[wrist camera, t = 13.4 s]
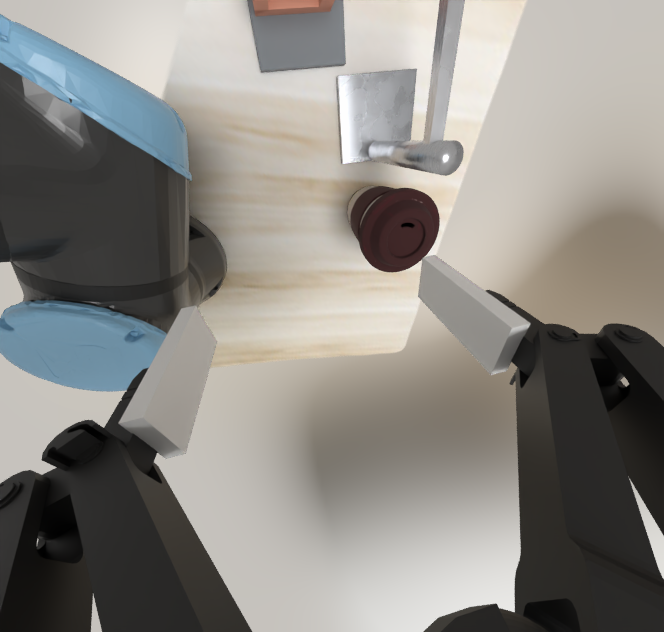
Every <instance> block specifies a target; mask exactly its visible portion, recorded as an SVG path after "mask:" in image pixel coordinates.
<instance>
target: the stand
mask: <svg viewBox="0 0 664 632" xmlns="http://www.w3.org/2000/svg"><path fill="white" fill-rule="evenodd" d="M464 2H465V0H440V3H439V12H438V20H437V29H436V37H435V46H434V55H433V63H432V72H431V81H430V89H429V98H428V107H427V115H426V124H425V132H424V141H410V139H411V128H412V117H413V106H414V94H415V83H416V72H417V69H408V70H397V71H385V72H374V73H363V74H352V75H341V76H338V77H337V92H338V110H339V128H340V146H341V163H342V164H346V163H354V162H362V161H370V160H373V161H376V162H381V163H386V164H390V165H395V166H400V167H405V168H410V169H415V170H420V171H425V172H430V173H435V174H440V175H450V174H452V173H453V172H454V171H456V170H457V168H458V167H459V166H460V164H461V162H462V159H463V147H462V145H461V143H459V142H458V141H443V137H444V130H445V124H446V117H447V111H448V105H449V98H450V92H451V85H452V79H453V73H454V66H455V60H456V53H457V47H458V40H459V34H460V28H461V21H462V15H463V8H464Z"/></svg>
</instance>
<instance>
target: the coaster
mask: <svg viewBox="0 0 664 632" xmlns="http://www.w3.org/2000/svg"><path fill="white" fill-rule="evenodd" d="M247 1H248V6H249V11H250V16H251V22H252V27H253V32H254V37H255V42H256V48H257V53H258V58H259V63H260V68H261V72H272V71H284V70H295V69H307V68H318V67H330V66H342V65H345V64H346V61H345V36H344V10H343V0H335V1H334V3H333V6H332V8H331V11H330V12H316V13H300V14H285V15H269V16H255V11H254V6H253V0H247Z"/></svg>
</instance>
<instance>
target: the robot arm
mask: <svg viewBox="0 0 664 632" xmlns="http://www.w3.org/2000/svg"><path fill="white" fill-rule="evenodd" d="M189 180H190V181H192V175H191V173H190V172H189V162H188V139H187V132H186V129H185V126H184V124H183V122H182V120H181V118H180V117H179V116H178V114H177V113H176V112H175V111H174V110H173V108H172V107H170V106H169V105H168V104H167V103H165V102H164V101H163V100H161V99H159V98H158V97H156V96H154V95H153V94H151V93H149V92H148V91H146V90H144V89H143V88H141V87H139V86H137V85H135V84H134V83H132V82H130V81H129V80H127V79H125V78H123V77H121V76H119V75H118V74H116V73H114V72H112V71H110V70H108V69H107V68H105V67H103V66H101V65H99V64H97V63H95V62H93V61H91V60H90V59H88V58H86V57H84V56H82V55H80V54H78V53H76V52H74V51H73V50H71V49H69V48H67V47H65V46H63V45H61V44H59V43H57V42H55V41H53V40H51V39H49V38H48V37H46V36H44V35H42V34H40V33H38V32H36V31H34V30H32V29H29V28H27V27H26V26H24V25H21V24H19V23H16V22H13V21H11V20H9V19H7V18H6V17H4V16H3V15H1V14H0V262H11V264H12V266H13V269H14V271H15V273H16V275H17V278H18V281H19V283H20V285H21V288H22V290H23V293H24V300H23V302H21V303H19V304H16V305H13V306H11V307H9V308H7V309H5V310H4V312H3V314H2V315H1V318H0V353H1V354H2V355H3V356H4V357H5V358H6V359H7V360H9V361H10V362H11V363H12V364H14V365H15V366H17V367H19V368H20V369H22V370H24V371H26V372H28V373H30V374H32V375H34V376H37V377H39V378H42V379H44V380H48V381H51V382H54V383H56V384H60V385H64V386H67V387H72V388H77V389H83V390H92V391H125V390H127V392H125V394H124V395H123V397H122V401H120V402H119V404H118V405H117V407H116V409H115V411H114V412H113V414H112V415H111V417H110V419H109V421H108V423H107V424H106V426H105V427H104V428H103V427H101V426H100V425H98V424H97V423H95V422H94V421H93V420H85V421H81V422H78V423H76V424H74V425H72V426H70V427H68V428H67V429H65V430H64V431H63V432H61V433H60V434H59V435H57V436H56V437H55V438H54V439H53V440H52V441H51V442H50V443H49V444H48V446H47V448H46V449H45V451H44V452H43V455H42V461H45V462H47V463H49V464H51V465H53V466H55V467H57V468H55V469H53V470H51V471H49V472H47V473H45V474H43V475H41V474H38V473H36V472H34V471H31V470H28V471H22V472H20V473H18V474H15V475H13V476H11V477H10V478H8V479H7V480H5V481H4V482H2V483H1V484H0V632H91V617H92V600H93V599H92V598H93V594H94V598H95V603H96V607H97V611H98V616H99V619H100V624H101V628H102V632H252V631H251V629H250V627H249V626H248V623H247V622H246V620H245V618H244V616H243V615H242V613H241V611H240V609H239V608H238V606H237V604H236V602H235V601H234V599H233V597H232V595H231V594H230V592H229V590H228V588H227V586H226V585H225V583H224V581H223V579H222V578H221V576H220V574H219V573H218V571H217V569H216V567H215V565H214V564H213V562H212V560H211V558H210V557H209V555H208V553H207V551H206V550H205V548H204V546H203V544H202V542H201V541H200V539H199V538H198V536H197V534H196V532H195V530H194V528H193V527H192V525H191V523H190V521H189V520H188V518H187V516H186V514H185V513H184V511H183V509H182V507H181V506H180V504H179V502H178V500H177V498H176V497H175V495H174V493H173V491H172V490H171V488H170V486H169V485H168V483H167V481H166V479H165V477H164V476H163V474H162V472H161V470H160V469H159V467H158V466H157V465H156V464H155V463H154V459H155V457H156V454H157V453H159V454H160V455H162V456H163V457H164V458H166V459H167V458H171V457H175V456H178V455H183V454H186V451H187V447H188V443H189V440H190V436H191V433H192V429H193V426H194V422H195V418H196V415H197V411H198V408H199V404H200V401H201V397H202V393H203V390H204V387H205V383H206V380H207V376H208V372H209V369H210V365H211V362H212V358H213V355H214V351H215V348H216V344H217V340H216V339H215V337H214V335H213V334H212V332H211V330H210V329H209V327H208V325H207V323H206V322H205V320H204V318H203V317H202V315H201V313H200V312H199V310H198V306H199V304H201V303H203V302H204V301H206V300H207V299H209V298H210V297H212V296H213V295H214V294H215V293H216V292H217V291H218V290H219V288H220V287H221V285H222V283H223V280H224V278H225V275H226V270H227V262H226V256H225V253H224V250H223V248H222V246H221V244H220V242H219V241H218V239H217V238H216V237H215V235H214V234H213V233H212V232H211V231H210V230H209V229H208V228H207V227H206V226H205V225H203V224H202V223H201V222H199V221H198V220H196V219H194V218H193V217H191V216H189ZM418 297H419V298H420V299H421V300H422V301H423V302H424V303H425V305H426V306H427V307H428V308H429V309H430V310H431V311H432V312H433V313H434V314H435V315H436V316H437V317H438V319H439V320H440V321H441V322H442V323H443V324H444V325H445V326H446V327H447V328H448V329H449V330H450V332H451V333H452V334H453V335H454V336H455V337H456V338H457V339H458V340H459V341H460V342H461V343H462V345H463V346H464V347H465V348H466V349H467V350H468V351H469V352H470V353H471V354H472V355H473V357H474V358H475V359H476V360H477V361H478V362H479V363H480V364H481V365H482V366H483V367H484V368H485V369H486V371H487V372H488V373H489V374H490V375H493V374H497V373H501V372H505V371H507V369H508V367H509V365H510V363H511V362H513V363H514V364H515V365H516V366H517V367H518V368H517V370H516V372H515V373H514V375H513V377H512V379H511V381H510V384H511V385H513V383H514V381H516V411H517V443H518V473H519V507H520V539H521V556H520V561H519V564H518V567H517V570H516V576H515V612H511V611H508V610H504V609H499V608H498V605H497V604H490V605H482V606H475V607H469V608H466V609H463V610H460V611H457V612H454V613H451V614H448V615H445V616H442V617H439V618H438V619H437V620H435V621H434V622H433V623H432V624H431V625H430V626H429V627H428V628H427V629H426V630H425V631H424V632H664V579H663V578H662V576H661V573H660V571H659V569H658V566H657V563H656V560H655V557H654V554H653V551H652V548H651V545H650V541H649V538H648V536H647V532H646V529H645V526H644V523H643V520H642V517H641V514H640V511H639V508H638V505H637V502H636V498H635V495H634V492H633V489H632V486H631V483H630V480H629V478H630V479H631V481H632V483H633V484H634V486H635V488H636V490H637V491H638V493H639V495H640V496H641V498H642V500H643V501H644V503H645V505H646V507H647V508H648V510H649V512H650V513H651V515H652V517H653V518H654V520H655V522H656V523H657V525H658V527H659V528H660V530H661V532H662V533H663V535H664V347H663V346H662V345H661V344H660V343H659V342H658V341H657V340H655V339H654V338H653V337H652V336H650V335H649V334H648V333H646V332H645V331H642V330H640V329H638V328H636V327H633V326H629V325H624V324H608V325H605V326H604V327H603V328H602V329H601V331H600V332H599V333H598V334H579V333H577V332H576V331H575V330H573V329H570V328H569V327H566V326H562V325H558V324H543V323H542V322H540V321H539V320H537V319H536V318H534V317H533V316H532V315H530V314H529V313H527V312H526V311H524V310H523V309H521V308H519V307H517V306H516V305H515V304H514V303H512V302H509V300H508V299H507V298H505V297H504V296H502V295H501V294H498V293H496V292H493V291H490V290H486V291H485V290H483V289H482V288H480V287H479V286H477V285H476V284H475V283H473V282H472V281H471V280H469V279H468V278H466V277H465V276H464V275H462V274H461V273H459V272H458V271H456V270H455V269H454V268H452V267H451V266H449V265H448V264H447V263H445V262H444V261H442V260H441V259H440V258H438V257H437V256H435V255H433V256H428V257H423V259H422V267H421V276H420V285H419V293H418ZM623 377H625V378H626V379H627V380H628V382H629V385H628V386H627V387H626V386H624V385H623V383H622V382H621V381H620V380H621V379H622V378H623ZM628 476H629V477H628ZM37 538H38V539H39V541H38V545H37Z"/></svg>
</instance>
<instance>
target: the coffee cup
mask: <svg viewBox="0 0 664 632" xmlns="http://www.w3.org/2000/svg"><path fill="white" fill-rule="evenodd" d="M347 216H348V220H349V223H350V225H351V228H352V230H353V232H354V234H355V236H356V238H357V239H358V241H359V244H360V248H361V251H362V253H363V255H364V257H365V258H366V259H367V261H368V262H369V263H370V264H371V265H372V266H373V267H375V268H376V269H378V270H381V271H384V272H399V271H403V270H406V269H408V268H410V267H412V266H414V265H415V264H417V263H418V262H419V261H421V260H422V259H423V257H425V256H426V255H427V253H428V252H429V251H430V249H431V248H432V246H433V244H434V242H435V240H436V238H437V234H438V231H439V213H438V209H437V207H436V205H435V203H434V201H433V200H432V199H431V198H430V197H429V196H428V195H427V194H425V193H423V192H421V191H418V190H415V189H411V188H399V189H394V188H389V187H383V186H378V187H376V186H367V187H364V188H362V189H360V190H358V191H357V192H356V193H355V194H354V195H353V197H352V198H351V200H350V202H349V205H348V209H347Z"/></svg>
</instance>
